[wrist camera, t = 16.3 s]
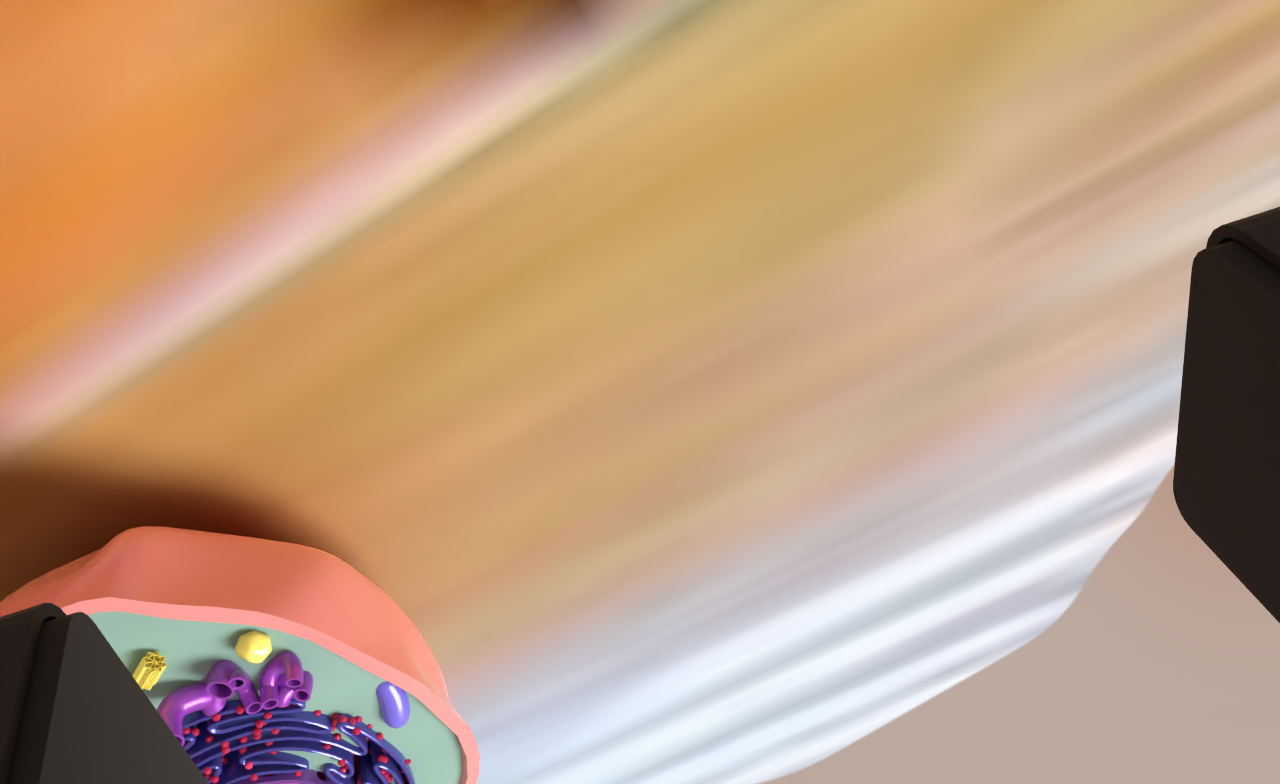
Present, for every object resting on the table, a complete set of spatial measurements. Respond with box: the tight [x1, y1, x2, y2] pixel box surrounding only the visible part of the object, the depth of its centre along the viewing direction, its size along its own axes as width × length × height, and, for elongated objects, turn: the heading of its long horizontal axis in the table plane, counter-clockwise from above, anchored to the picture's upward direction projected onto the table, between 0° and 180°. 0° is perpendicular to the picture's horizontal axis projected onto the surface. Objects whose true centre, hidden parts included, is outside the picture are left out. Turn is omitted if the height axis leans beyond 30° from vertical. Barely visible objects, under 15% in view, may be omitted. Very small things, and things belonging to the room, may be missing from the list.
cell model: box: [0, 526, 480, 784], centre depth 44 cm, size 17×20×11 cm
